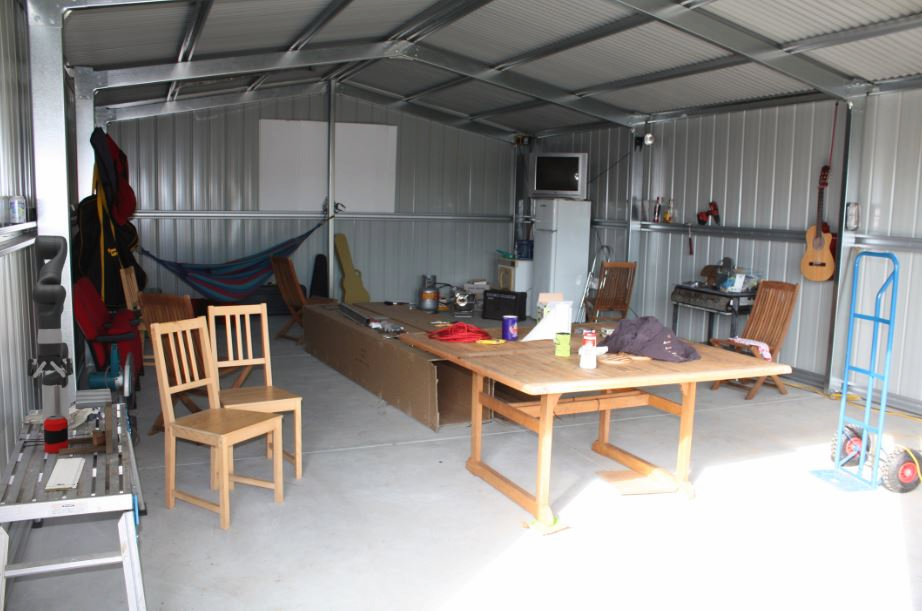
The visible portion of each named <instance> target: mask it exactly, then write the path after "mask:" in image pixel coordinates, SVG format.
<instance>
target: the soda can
mask: <svg viewBox="0 0 922 611" xmlns="http://www.w3.org/2000/svg"><path fill="white" fill-rule="evenodd" d="M43 435H44V436H43V441H44V442H43V443H44V444H43V445H44V448H43V449H44V452H46V453H47V454H59V449H65V448H69V445H68V439H69V426H68V420H67V419H66V418H65V417H64V416H61V415H56V416H50V417H47V419H46V420H45V421H44V427H43Z"/></svg>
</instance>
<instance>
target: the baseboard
mask: <svg viewBox="0 0 922 611" xmlns="http://www.w3.org/2000/svg"><path fill="white" fill-rule="evenodd" d="M85 462H86V458H83V457H72V458H70V457H69V458H58V459H57V461H56V464H55V466H54V468H53V470H52V472H51V475H50V477H49V478H48V481H47V483H46V485H44V488H45V489H44V492H45V491H52V492H57V491H56V490H65V491H69V490H68V489H74V488H79V486H78V484H79V480H80V477H81V475H82V472H83V468H84V466H85ZM77 483H78V484H77Z"/></svg>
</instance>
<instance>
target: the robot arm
mask: <svg viewBox="0 0 922 611" xmlns="http://www.w3.org/2000/svg"><path fill="white" fill-rule="evenodd" d="M33 245H34V246H33V247H34V260H35V262H34V263H35V272H36V275H35V276H36V283H35V285H34V286H33V289H32V291H31V299H32V302H34V304H36V317H37V318H36V319H37V341H36V358H29V359H27V360H28V361H27V376H28V377H32V378H33V387H35V389H40V388H41V395H42V396H41V397H42V398H41V400H42V427H43V426H44V421H45V420H46V419H47V417H50V416H56V415H61V416H64V417H65V418H66V419H67V420H68V423H69V424H70V398H69V397H70V394H69V393H70V391H69V376H72V375H74V365H73V358H72V357H69V354H70V353H69V345H68V344H67V342H65V341H64V342H63V334H62V315H63V312H64V309H65V308H64V307H65V305H64V304H65V301H66V298H67V290H66V288H65V286H63V285H62V275H63V269H64V267H65V263H66V260H67V256H68V251H69V250H68V246H69V245H68V240H67V238H66V237H64V236H62V235H49V234H48V235H43V234H40V235H38V234H37V235H36V236H35V238H34V244H33ZM47 260H48V261H47ZM46 261H47V262H46ZM37 364H38V366H39V367H38V368H37V369H36V371H35V366H36V365H37ZM48 371H51V372H50V373H48V374H45V375H42V378H41V377H40V376H41V374H42V373H43V372H48Z"/></svg>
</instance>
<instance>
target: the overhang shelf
mask: <svg viewBox="0 0 922 611" xmlns="http://www.w3.org/2000/svg"><path fill="white" fill-rule="evenodd" d="M112 401H113V400H112V393H111V389H110V388H99V389H86V390H85V389H83V390H82V389H81V390H75V402H74V406H75V410H81V409H82V410H85V409H97V408H98V409H99V408H104V430H102V429H92V436H89V437H75V438H68V446H71V445H81V444H92V445H89V446H77V447H68V448H65V449H59V453H58V456H63V455H64V456H65V455H77V454H88V453H98V452H99V453H100V452H105V454H106V455H109V453H112V454H113V402H112Z"/></svg>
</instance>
